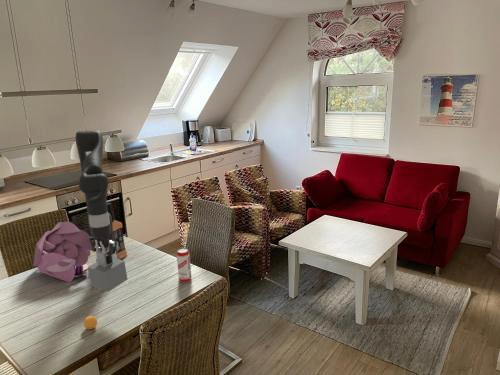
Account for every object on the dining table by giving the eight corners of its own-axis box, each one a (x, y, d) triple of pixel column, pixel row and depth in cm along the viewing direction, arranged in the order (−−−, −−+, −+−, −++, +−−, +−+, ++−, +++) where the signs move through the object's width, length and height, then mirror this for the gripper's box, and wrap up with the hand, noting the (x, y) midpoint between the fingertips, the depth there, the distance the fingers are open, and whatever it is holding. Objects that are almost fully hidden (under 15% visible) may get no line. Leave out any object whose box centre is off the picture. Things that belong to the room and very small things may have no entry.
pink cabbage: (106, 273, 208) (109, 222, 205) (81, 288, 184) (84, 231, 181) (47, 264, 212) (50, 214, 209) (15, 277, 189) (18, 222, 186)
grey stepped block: (91, 286, 158) (84, 254, 153) (110, 274, 166) (105, 243, 161) (108, 292, 153) (102, 259, 148) (127, 279, 161) (122, 248, 156)
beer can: (189, 283, 185) (186, 253, 180) (176, 282, 186) (174, 252, 182) (193, 277, 191) (191, 248, 186) (181, 276, 192) (179, 247, 188)
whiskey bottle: (128, 255, 217) (121, 201, 208) (115, 262, 209) (108, 207, 200) (114, 252, 221) (106, 199, 213) (101, 259, 213) (93, 205, 204)
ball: (86, 312, 154) (93, 317, 157) (78, 323, 151) (86, 329, 155) (95, 315, 152) (102, 321, 155) (87, 327, 149) (94, 332, 152)
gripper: (80, 223, 152) (86, 262, 157) (104, 229, 145) (110, 270, 150) (95, 217, 158) (101, 255, 163) (119, 222, 151) (125, 262, 156)
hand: (105, 262), depth 156 cm, fingers closed on grey stepped block, 4 cm apart
